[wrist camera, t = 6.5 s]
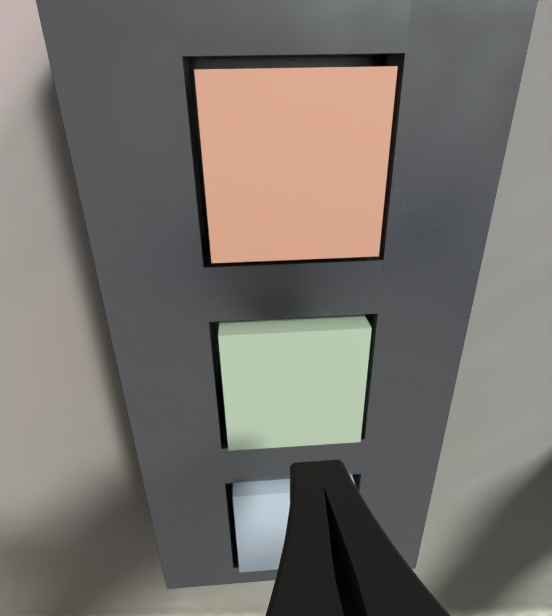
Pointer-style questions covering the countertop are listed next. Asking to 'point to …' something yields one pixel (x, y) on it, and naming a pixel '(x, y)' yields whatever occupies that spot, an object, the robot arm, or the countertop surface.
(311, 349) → the sage button
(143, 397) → the button panel
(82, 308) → the countertop surface
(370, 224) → the terracotta button
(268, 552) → the blue-grey button
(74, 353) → the countertop surface
